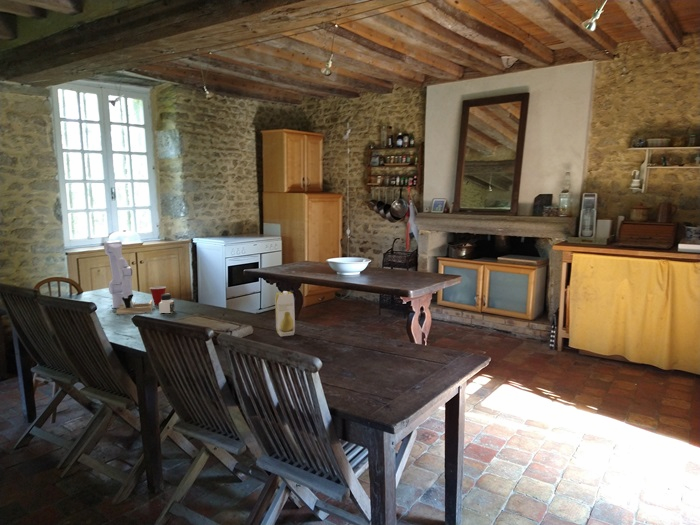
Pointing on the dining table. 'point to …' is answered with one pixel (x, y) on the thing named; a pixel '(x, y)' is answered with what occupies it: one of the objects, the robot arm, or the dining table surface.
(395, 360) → the dining table surface
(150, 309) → the wooden crate
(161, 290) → the plastic cup
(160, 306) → the medicine bottle
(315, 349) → the dining table surface
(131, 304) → the pusher
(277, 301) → the juice carton
